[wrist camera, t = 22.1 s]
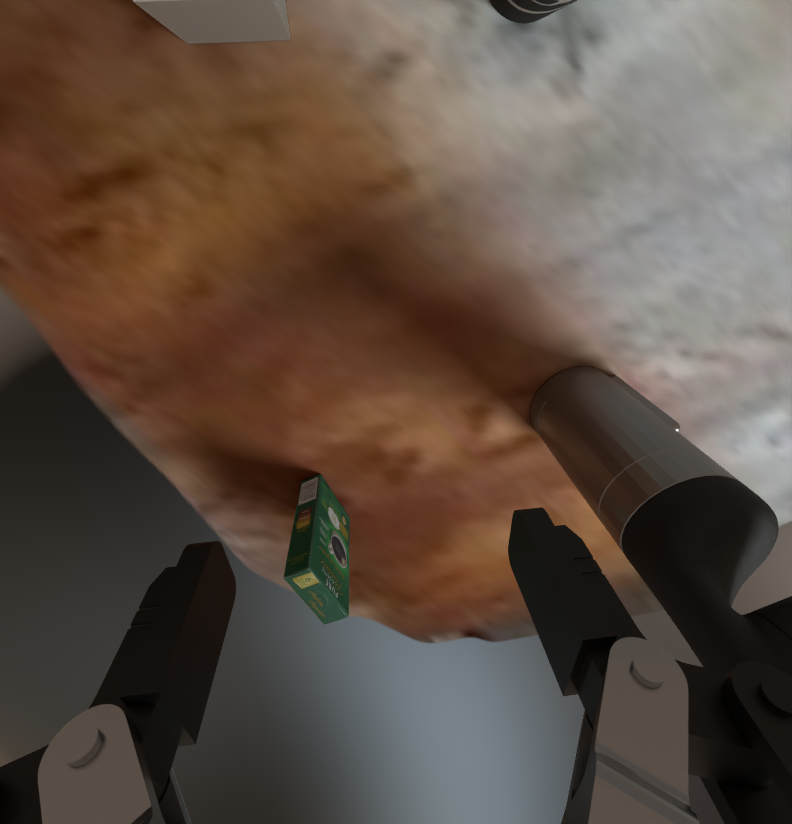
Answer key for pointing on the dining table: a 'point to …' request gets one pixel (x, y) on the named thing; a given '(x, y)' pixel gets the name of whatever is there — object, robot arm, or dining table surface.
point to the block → (221, 19)
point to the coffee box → (320, 551)
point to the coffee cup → (528, 9)
